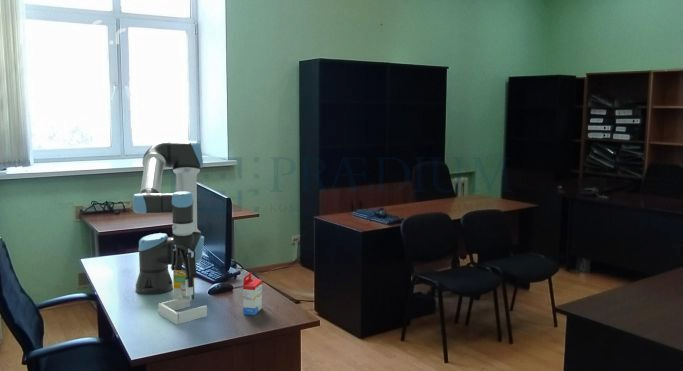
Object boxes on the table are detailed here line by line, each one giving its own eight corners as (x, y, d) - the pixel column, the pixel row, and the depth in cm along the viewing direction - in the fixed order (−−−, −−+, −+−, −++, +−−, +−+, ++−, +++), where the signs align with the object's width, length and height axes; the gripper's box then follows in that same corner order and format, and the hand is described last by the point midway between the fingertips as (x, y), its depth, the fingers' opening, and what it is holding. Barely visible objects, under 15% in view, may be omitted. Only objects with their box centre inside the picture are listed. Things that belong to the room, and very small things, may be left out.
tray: (158, 313, 221) (158, 303, 220) (188, 305, 229) (188, 296, 229) (176, 324, 211) (176, 314, 210) (206, 316, 219) (206, 306, 219)
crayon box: (194, 298, 220) (194, 268, 219) (191, 301, 217) (191, 271, 216) (176, 296, 222) (176, 267, 220) (173, 299, 219) (172, 269, 217)
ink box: (254, 315, 221) (254, 279, 218) (242, 314, 222) (242, 277, 219) (262, 308, 229) (262, 272, 227) (250, 306, 230) (250, 271, 228)
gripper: (160, 229, 220) (162, 287, 224) (187, 240, 206) (188, 301, 209) (178, 227, 225) (180, 283, 229) (206, 236, 211) (206, 297, 214)
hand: (184, 292), depth 219 cm, fingers closed on crayon box, 7 cm apart
